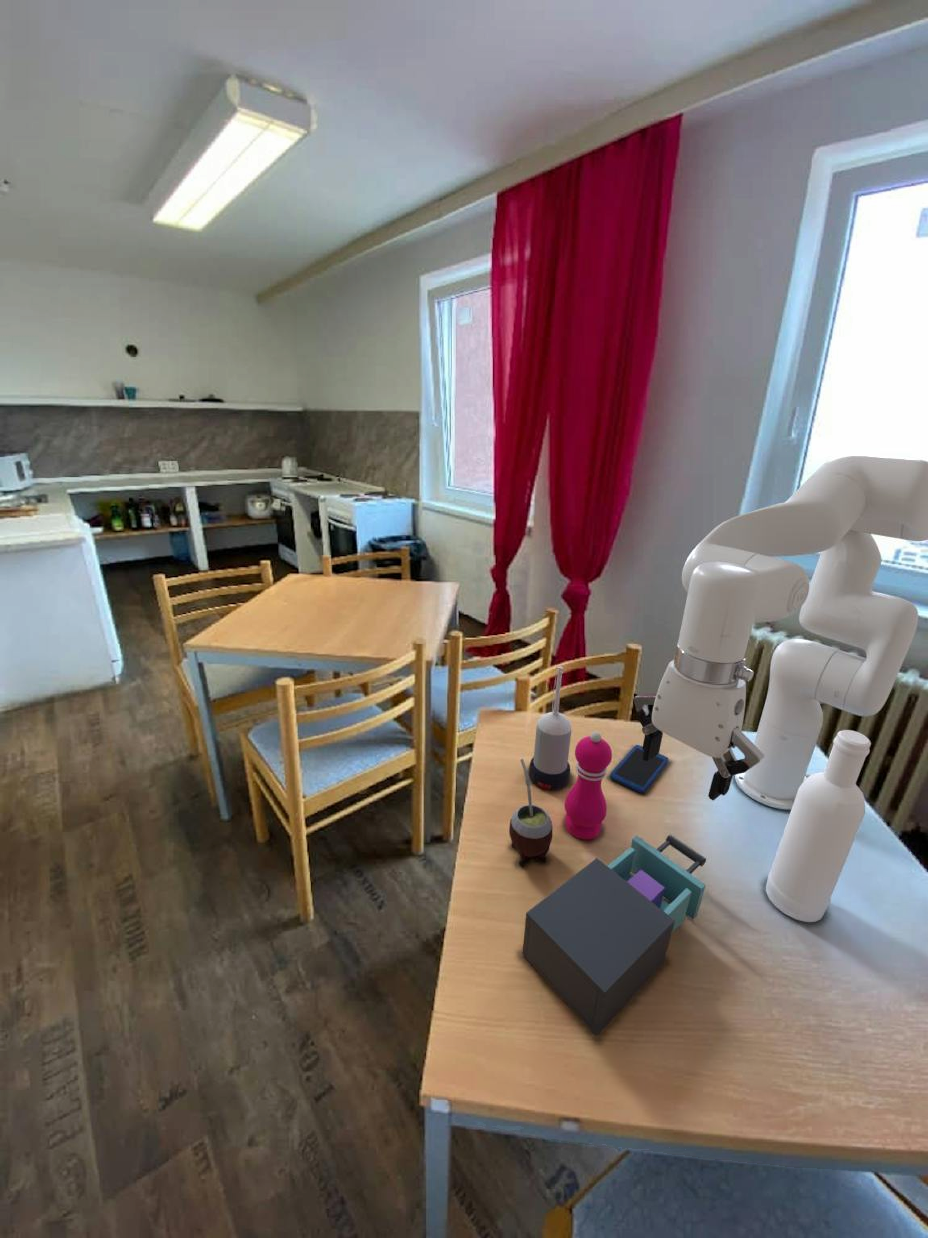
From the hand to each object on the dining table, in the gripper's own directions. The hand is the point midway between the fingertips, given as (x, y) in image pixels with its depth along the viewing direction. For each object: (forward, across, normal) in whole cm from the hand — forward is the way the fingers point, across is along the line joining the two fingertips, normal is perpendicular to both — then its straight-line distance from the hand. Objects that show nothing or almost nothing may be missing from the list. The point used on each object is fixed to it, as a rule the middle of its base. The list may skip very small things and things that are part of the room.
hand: (681, 775), depth 70 cm
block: (+19, 0, +6) cm, 20 cm away
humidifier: (+24, +29, -8) cm, 38 cm away
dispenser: (+23, 0, +15) cm, 28 cm away
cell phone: (+23, +19, -24) cm, 39 cm away
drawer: (+22, 0, +2) cm, 23 cm away
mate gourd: (+24, +18, +9) cm, 31 cm away
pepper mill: (+24, +16, -3) cm, 29 cm away
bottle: (+24, -14, -17) cm, 32 cm away
